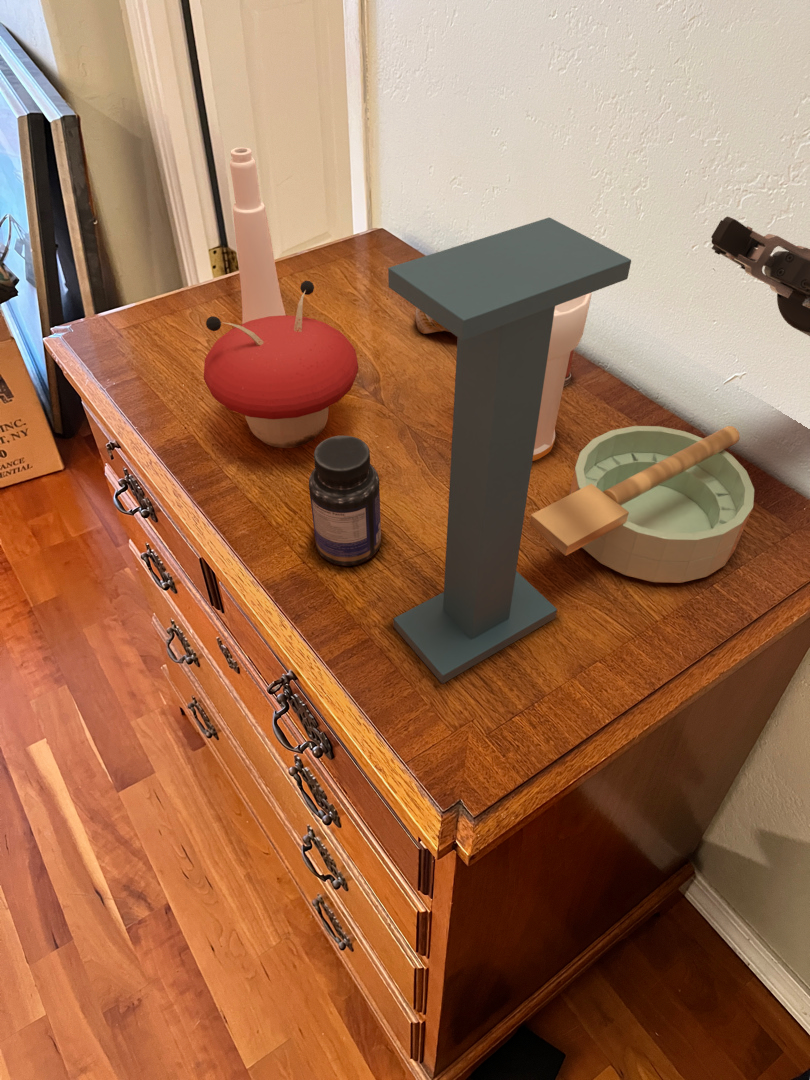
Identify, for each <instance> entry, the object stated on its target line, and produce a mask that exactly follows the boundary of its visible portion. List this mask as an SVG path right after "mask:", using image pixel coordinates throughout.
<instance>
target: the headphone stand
mask: <svg viewBox="0 0 810 1080" xmlns="http://www.w3.org/2000/svg"><path fill="white" fill-rule="evenodd" d="M631 264H632V259H631V258H629V257H627V256H625V255H623V254H621V253H620V252H617V251H615V250H614V249H612V248H610V247H608V246H606V245H604V244H602V243H600V242H598V241H596V240H594V239H592V238H590V237H589V236H587V235H585V234H583V233H581V232H579V231H576V230H575V229H573V228H572V227H569V226H567V225H565V224H563V223H561V222H559V221H557V220H556V219H554V218H552V217H546V218H543V219H540V220H536V221H533V222H530V223H527V224H524V225H521V226H517V227H514V228H511V229H508V230H505V231H501V232H498V233H495V234H491V235H489V236H485V237H482V238H479V239H475V240H472V241H469V242H466V243H463V244H459V245H457V246H453V247H450V248H447V249H444V250H441V251H438V252H433V253H431V254H428V255H424V256H421V257H417V258H415V259H411V260H409V261H405V262H402V263H399V264H396V265H392V266H390V267H388V268H387V271H388V272H387V273H388V274H387V275H388V277H387V278H388V281H387V283H388V288H389V289H390V290H392V291H393V292H395V294H397V295H399V296H400V297H401V298H403V299H404V300H406V301H407V302H408V303H409V304H411V305H412V306H414V307H415V308H416V309H417V308H418V309H420V310H421V311H422V312H424V313H425V314H426V315H428V316H429V317H431V318H432V319H433V320H435V321H436V322H437V323H439V324H440V325H442V326H443V327H444V328H446V329H447V330H449V331H450V332H449V333H451V334H452V335H454V336H455V337H457V339H456V340H457V341H456V356H455V357H456V359H455V378H454V397H453V413H452V414H453V415H452V430H451V431H452V432H451V450H450V452H451V454H450V467H449V469H450V471H449V489H448V490H449V492H448V508H447V525H446V542H445V543H446V544H445V545H446V546H445V560H444V561H445V563H444V565H445V566H444V583H443V591H442V592H441V593H439V594H437V595H435V596H433V597H431V598H429V599H428V600H426V601H424V602H422V603H420V604H418V605H415V606H414V607H412V608H410V609H408V610H407V611H405V612H403V613H401V614H399V615H397V616H395V617H394V618H393V628H394V629H395V630H396V632H397V633H398V634H399V635H400V637H402V639H403V640H404V641H405V642H406V643H407V645H408V646H409V647H410V648H411V649H412V650H413V652H414V653H415V655H417V656H418V658H419V659H420V660H421V661H422V662H423V663H424V665H425V666H426V667H427V669H429V671H430V672H431V673H432V674H433V676H435V677H436V679H437V680H438V681H439V683H440V684H441V685H443V684H445V683H447V682H449V681H450V680H452V679H454V678H455V677H457V676H458V675H461V674H462V673H464V672H465V671H467V670H469V669H471V668H472V667H474V666H476V665H478V664H480V663H482V662H483V661H484V660H486V659H488V658H490V657H492V656H494V655H495V654H497V653H498V652H500V651H502V650H504V649H505V648H507V647H508V646H510V645H512V644H513V643H515V642H517V641H519V640H521V639H522V638H524V637H525V636H527V635H529V634H531V633H533V632H534V631H536V630H539V628H542V627H543V626H544V625H546V624H548V623H550V622H552V621H554V620H555V619H557V618H556V617H557V612H558V608H557V607H556V606H555V605H553V603H551V602H550V601H549V600H548V599H547V598H546V597H545V596H544V595H543V594H542V593H541V592H540V591H538V589H536V588H535V587H534V586H533V585H532V584H531V583H530V582H529V581H528V580H527V579H526V578H525V577H523V575H521V573H520V572H519V571H517V567H518V561H519V556H520V555H519V554H520V547H521V542H522V541H521V540H522V534H523V527H524V521H525V514H526V507H527V501H528V493H529V486H530V479H531V474H532V473H531V472H532V467H533V466H532V465H533V461H532V460H533V453H534V446H535V440H536V433H537V426H538V419H539V412H540V406H541V399H542V392H543V385H544V378H545V372H546V365H547V358H548V351H549V344H550V338H551V331H552V324H553V317H554V311H555V306H557V305H559V304H562V303H565V302H567V301H570V300H573V299H575V298H578V297H581V296H583V295H586V294H589V293H594V292H597V291H599V290H603V289H605V288H607V287H610V286H613V285H615V284H618V283H621V282H624V281H627V280H628V278H629V273H630V269H631Z"/></svg>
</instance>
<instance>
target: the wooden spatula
mask: <svg viewBox="0 0 810 1080" xmlns="http://www.w3.org/2000/svg"><path fill="white" fill-rule="evenodd" d="M739 441H740V432H739V430H738V429H737V428H736V427H735V426H732V425H726V426H725V427H723V428H720V429H719V430H717V431H714V433H711V434H710V435H708V436H706V437H704V438H703V439H702V440H700V441H698V442H696V443H694V444H692V445H690V446H689V447H687V448H685V449H683V450H681V451H679V452H677V453H675V454H673V455H671V456H670V457H668V458H666V459H664V460H662V461H660V462H658V463H656V464H654V465H652V466H651V467H649V468H647V469H645V470H643V471H641V472H639V473H637V474H635V475H633V476H631V477H630V478H628V479H626V480H624V481H622V482H620V483H618V484H616V485H614V486H612V487H611V488H609V489H607V490H605V491H604V492H602V491H601V490H599V489H598V488H597V487H595V486H594V485H593V484H589V485H587V486H586V487H584V488H582V489H580V490H578V491H576V492H574V493H572V494H570V493H569V494H568V495H566V496H565V497H562V498H560V499H559V500H557V501H555V502H552V503H551V504H549V505H547V506H545V507H543V508H541V509H538V510H537V511H535V512H533V513H531V514H530V519H529V526H530V527H531V528H533V529H534V530H535V531H536V532H537V533H539V534H540V535H541V536H542V537H543V538H544V539H545V540H546V541H548V542H549V543H550V544H551V545H552V546H553V547H555V548H556V549H557V550H558V552H560V553H562V554H563V555H564V556H565V557H566V556H568V555H570V554H572V553H573V552H576V551H578V550H579V549H582V547H583V546H584V545H586V544H588V543H590V542H592V541H593V540H595V539H597V538H599V537H601V536H602V535H604V534H606V533H608V532H610V531H611V530H613V529H615V528H617V527H619V526H620V525H622V524H624V523H626V522H627V518H628V514H629V512H628V511H627V510H626V509H624V508H623V507H622V506H621V505H623V504H625V503H627V502H629V501H630V500H632V499H634V498H636V497H638V496H640V495H641V494H643V493H645V492H647V491H649V490H651V489H653V488H654V487H656V486H658V485H660V484H662V483H664V482H665V481H667V480H669V479H671V478H673V477H675V476H677V475H678V474H680V473H682V472H684V471H686V470H688V469H689V468H691V467H693V466H695V465H697V464H699V463H701V462H702V461H704V460H706V459H708V458H710V457H712V456H713V455H715V454H717V453H719V452H721V451H723V450H725V451H726V450H727V449H728V448H730V447H732V446H734V445H735V444H737V443H738V442H739Z"/></svg>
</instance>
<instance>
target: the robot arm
mask: <svg viewBox="0 0 810 1080" xmlns="http://www.w3.org/2000/svg"><path fill="white" fill-rule="evenodd" d="M710 238H711V244H712V247H711V250H713V251H714V253H715V254H717V255H722V257H725V258H726V259H729V261H732V262H733V263H735V264H736V265H738V266H740V269H742V270H744V272H745V273H746V275H748V276H750V277H753V278H754V279H756V280H758V281H760V282H762V283H764V284H766V285H768V286H769V288H770V290H771V291H772V292H774V293H776V303H777V308H778V311H779V314H780V315H781V317H782V318H783V320H784V321H785V322H786V324H788V325H789V326H790V327H792V328H793V329H795V330H797V331H799V332H800V333H802V334H804V335H806V336H808V337H810V248H809V247H805V246H802V245H796V244H793V243H792V242H790V241H788V240H786V239H785V238H783V237H781V236H779V235H775V234H772V233H767V234H765V235H764V236H763V235H762V234H760V233H758V232H757V231H754V228H752V227H751V226H748V225H747V226H746V225H744V224H743V223H741V222H740V221H739V220H737V219H735V218H732V217H731V216H725V217H724V218H723V219H720V221H719V223H718V225H717V226H716V228H715V229H714V231H713V233H712V235H711V236H710ZM777 247H779V248H781V249H783V250H779V251H776V252H774V250H775V249H776V248H777ZM772 253H773V254H772Z"/></svg>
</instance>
